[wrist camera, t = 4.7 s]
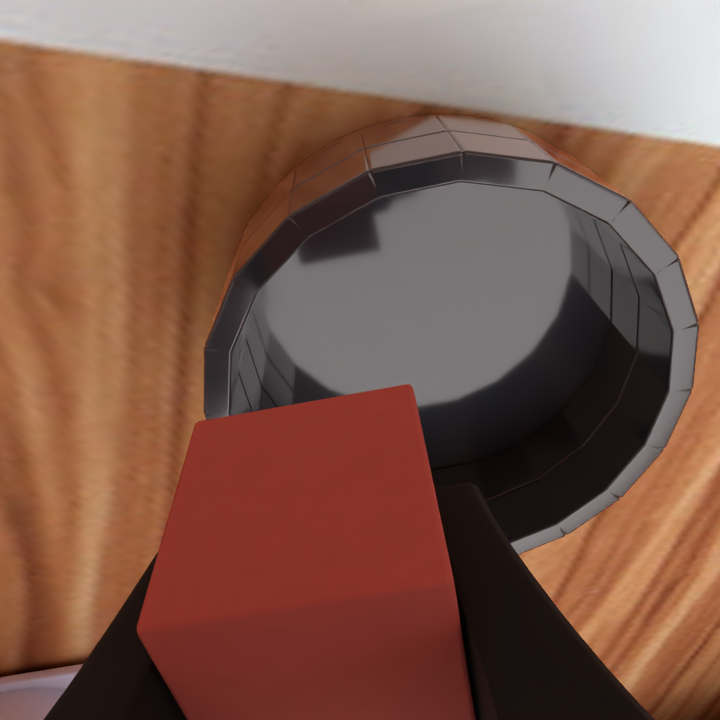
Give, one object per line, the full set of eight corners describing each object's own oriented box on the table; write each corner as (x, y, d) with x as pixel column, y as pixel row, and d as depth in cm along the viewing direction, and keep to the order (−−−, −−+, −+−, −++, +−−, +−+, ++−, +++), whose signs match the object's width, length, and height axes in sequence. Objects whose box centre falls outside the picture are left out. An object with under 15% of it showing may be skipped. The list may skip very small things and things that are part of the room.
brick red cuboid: (446, 584, 11) (489, 803, 8) (270, 612, 12) (251, 836, 9) (412, 380, 9) (453, 579, 6) (193, 420, 9) (131, 631, 6)
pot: (621, 439, 21) (679, 531, 17) (283, 498, 21) (275, 598, 18) (632, 68, 15) (723, 97, 12) (169, 164, 16) (126, 219, 12)
